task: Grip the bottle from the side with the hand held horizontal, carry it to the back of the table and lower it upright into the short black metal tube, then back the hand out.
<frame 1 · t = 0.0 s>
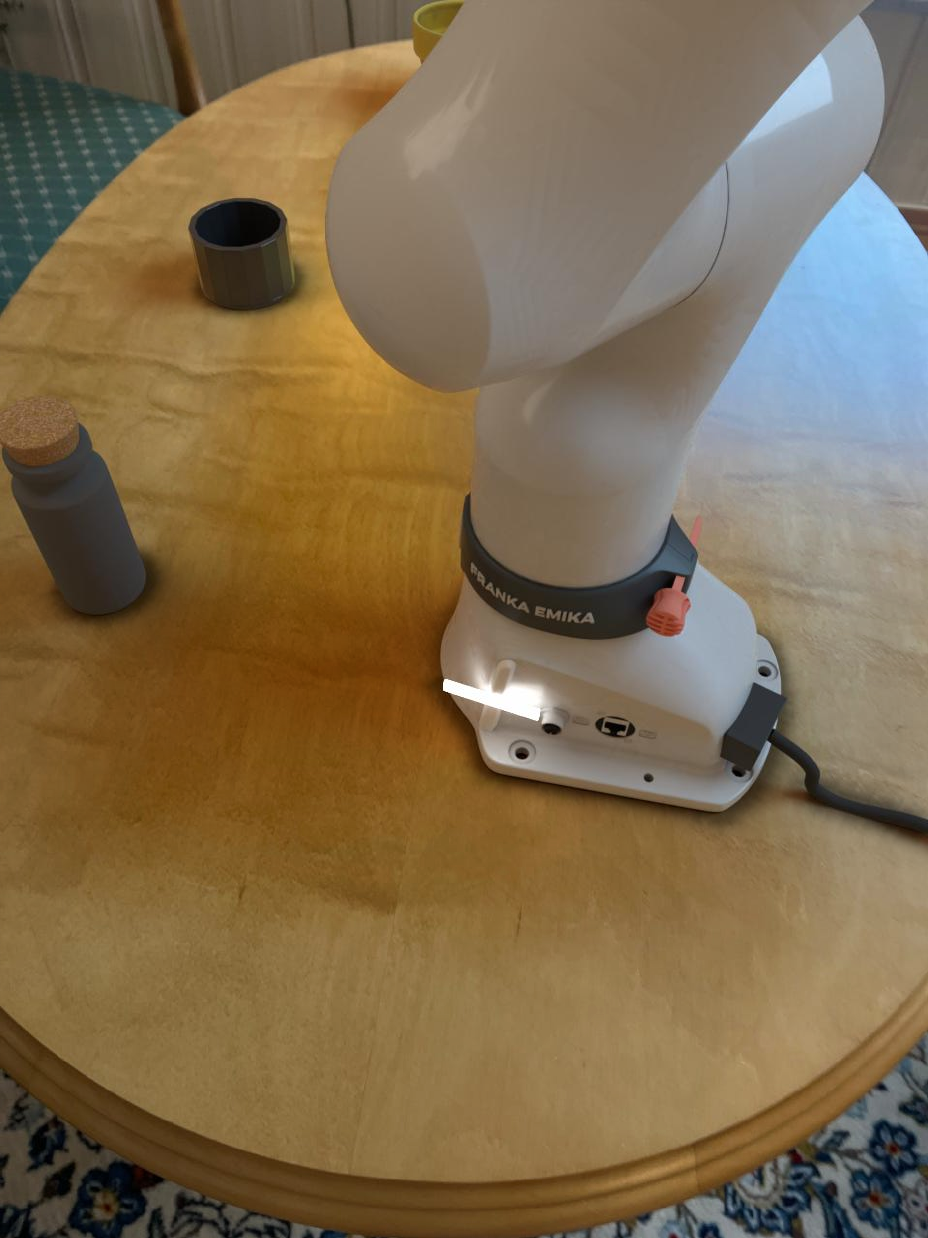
tube: (248, 282, 91), on the table
flower pot: (458, 110, 113), on the table
bottle: (105, 585, 69), on the table
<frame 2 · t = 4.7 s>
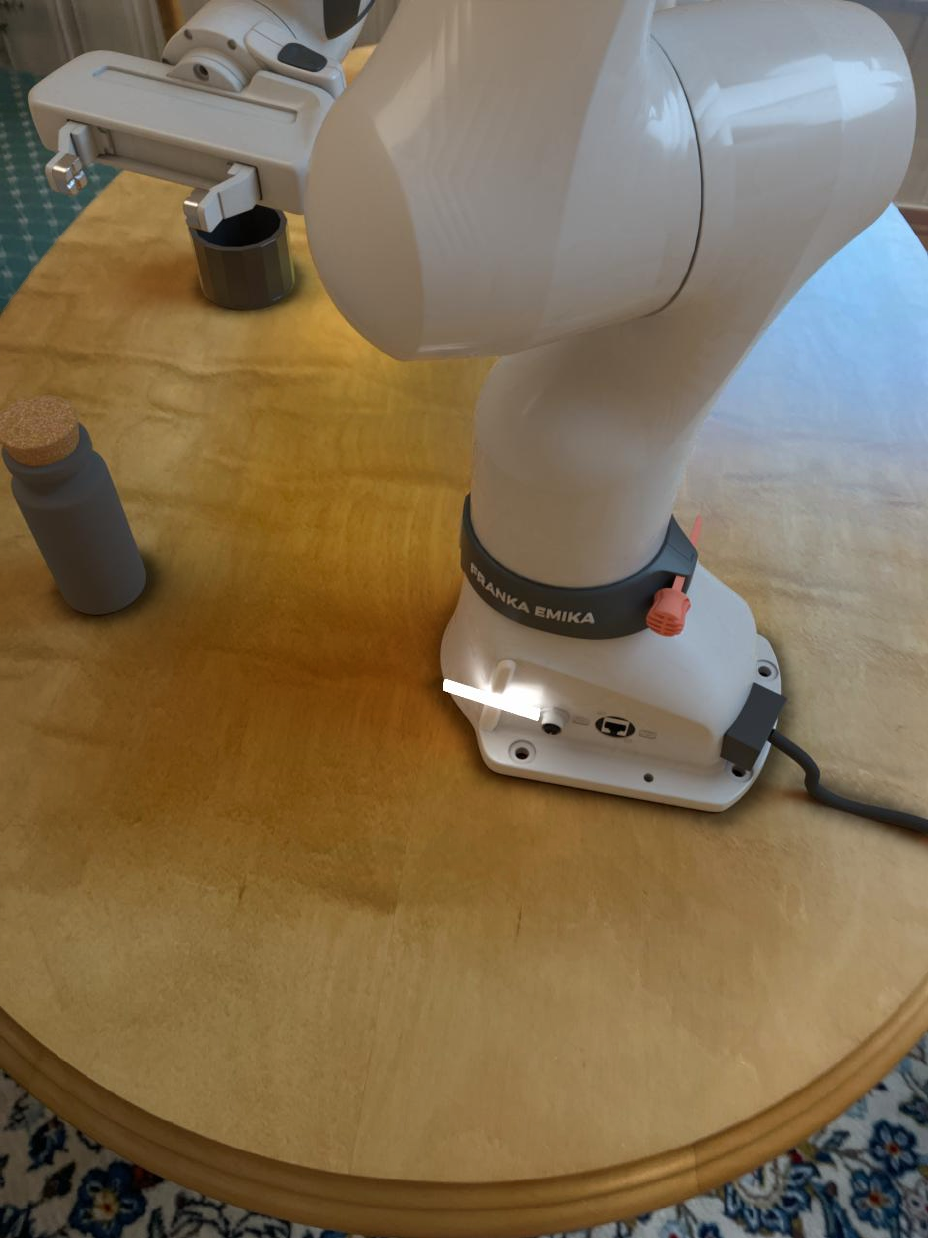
hand: (125, 201, 59), 22 cm above the table, tool horizontal, fingers open, 8 cm apart
nothing on the table moved.
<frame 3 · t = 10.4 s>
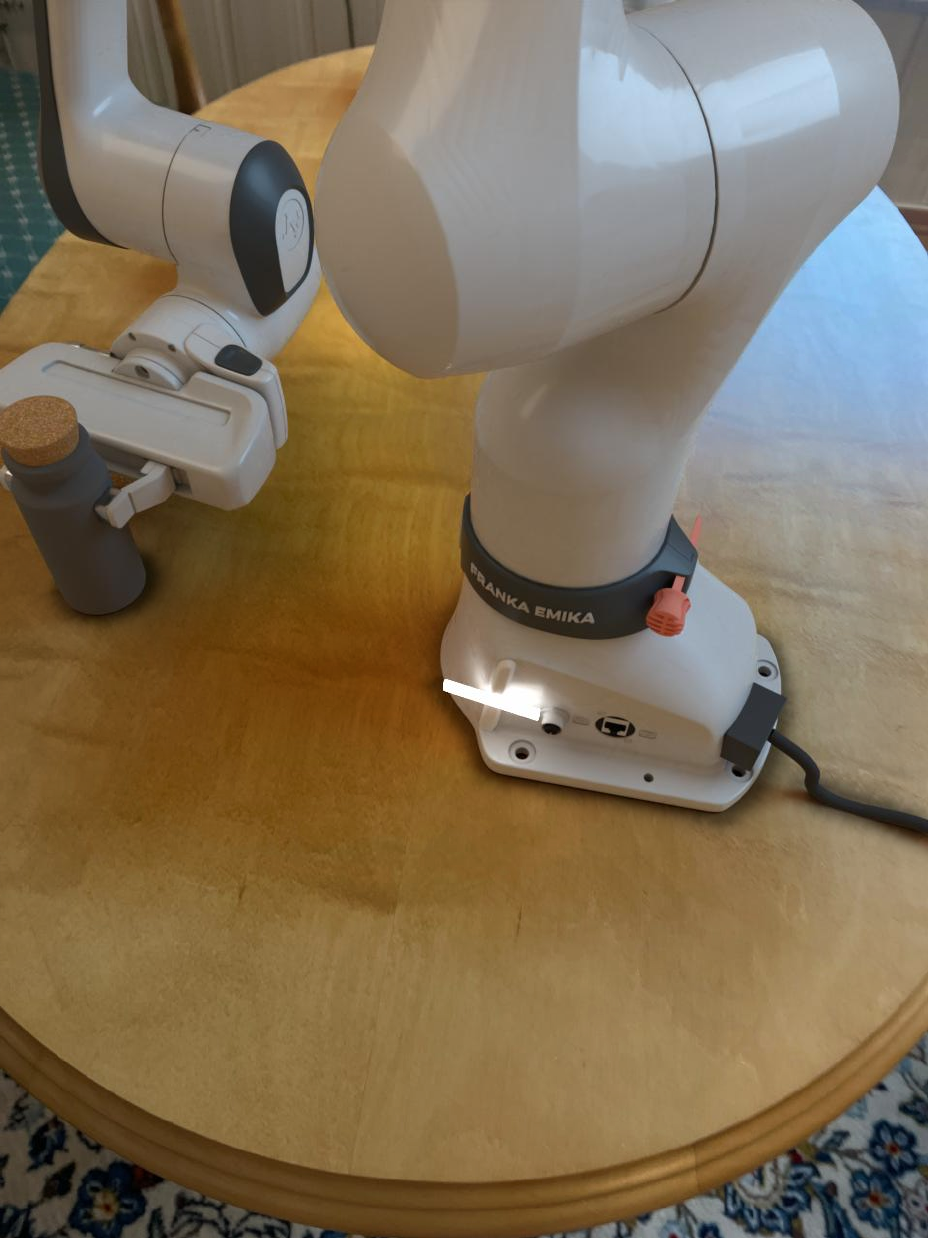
hand: (57, 502, 61), 9 cm above the table, tool horizontal, fingers closed on bottle, 6 cm apart
bottle: (105, 585, 69), on the table, touching gripper
everything else where it was.
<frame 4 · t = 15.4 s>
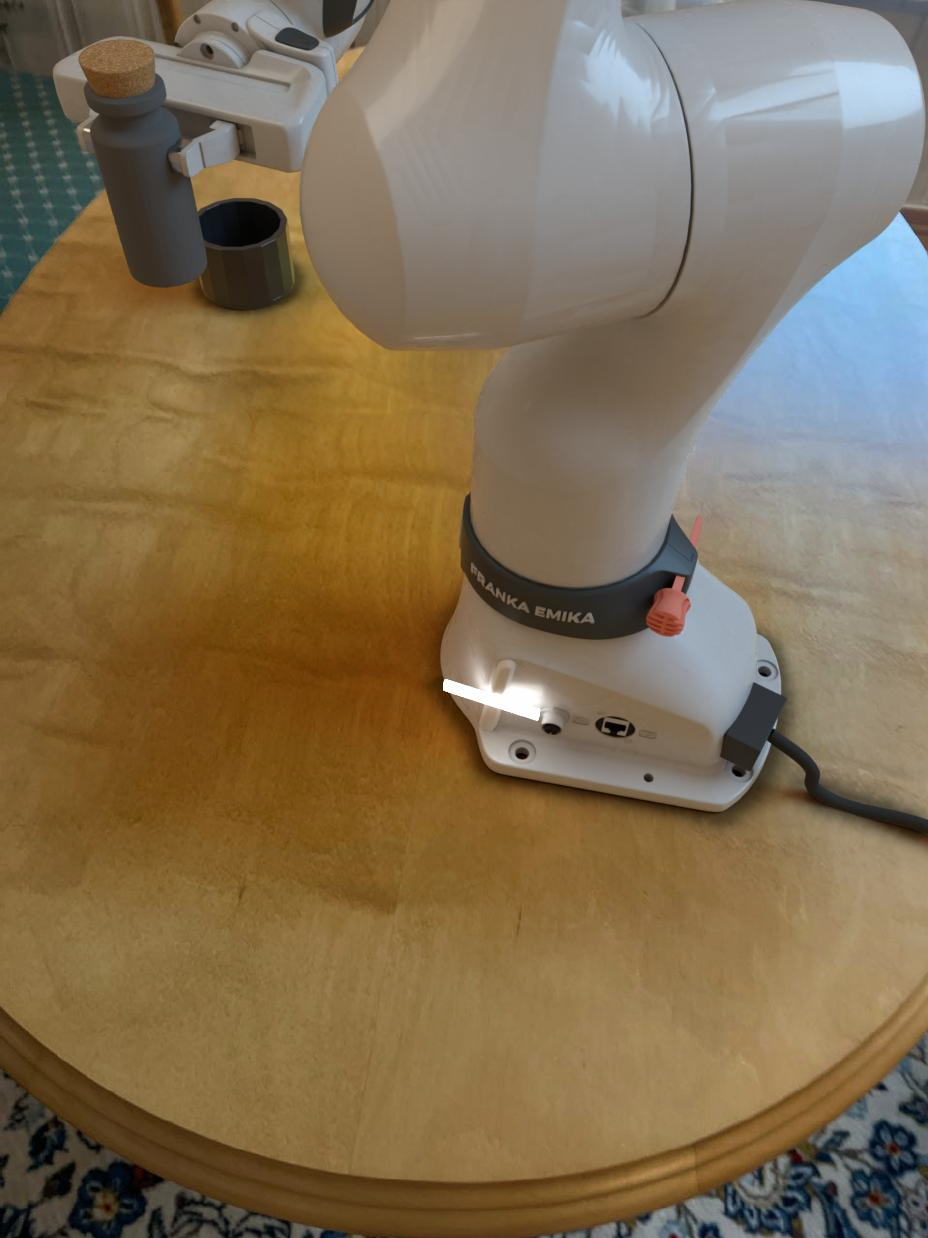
hand: (132, 154, 66), 20 cm above the table, tool horizontal, fingers closed on bottle, 6 cm apart
bottle: (169, 268, 74), point 11 cm above the table, touching gripper
everything else where it was.
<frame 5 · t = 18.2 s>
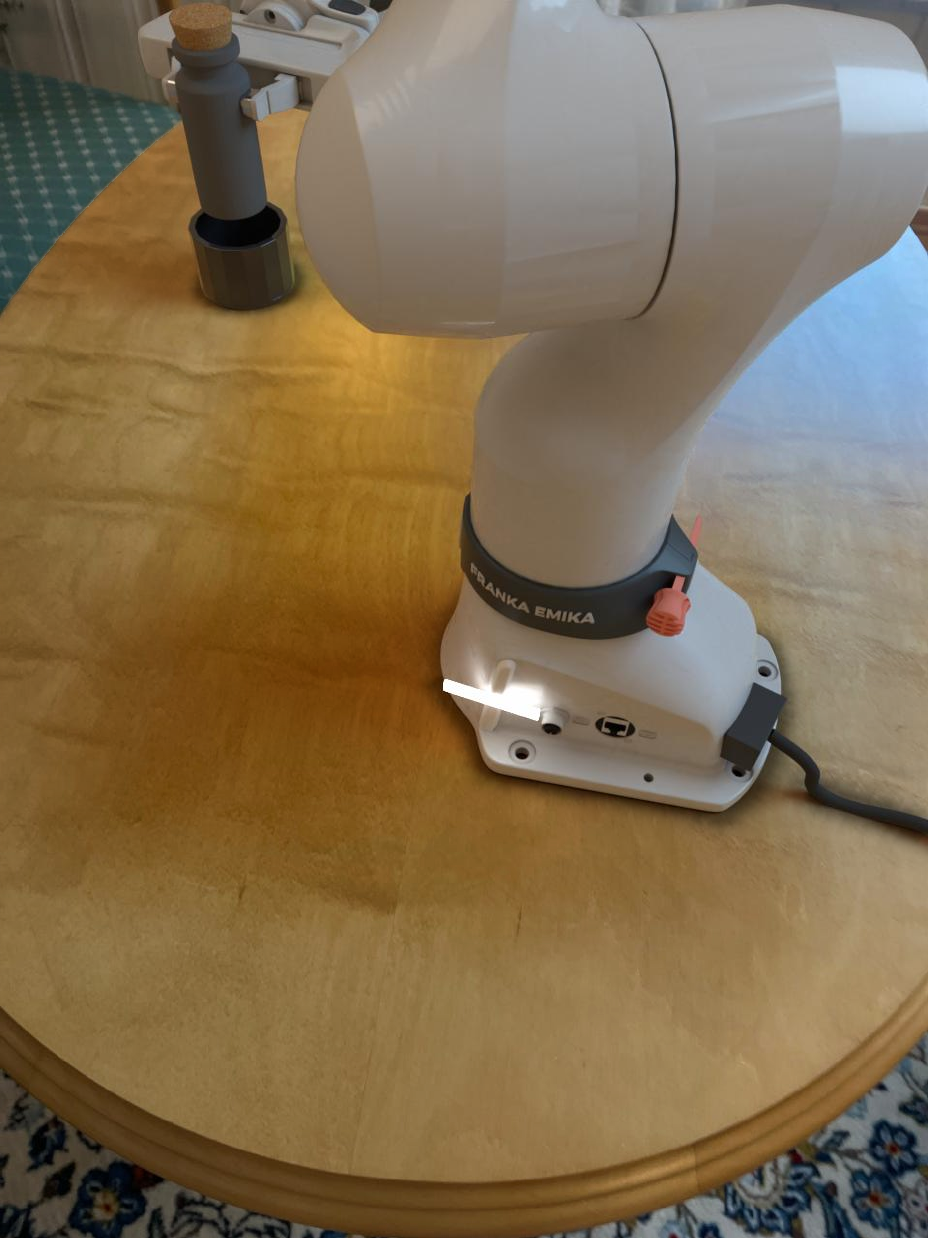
hand: (209, 101, 77), 17 cm above the table, tool horizontal, fingers closed on bottle, 6 cm apart
bottle: (234, 204, 85), point 8 cm above the table, touching gripper
everything else where it was.
when the fingers open (9 cm above the table, at t = 20.7 s): bottle stays where it is, resting on tube.
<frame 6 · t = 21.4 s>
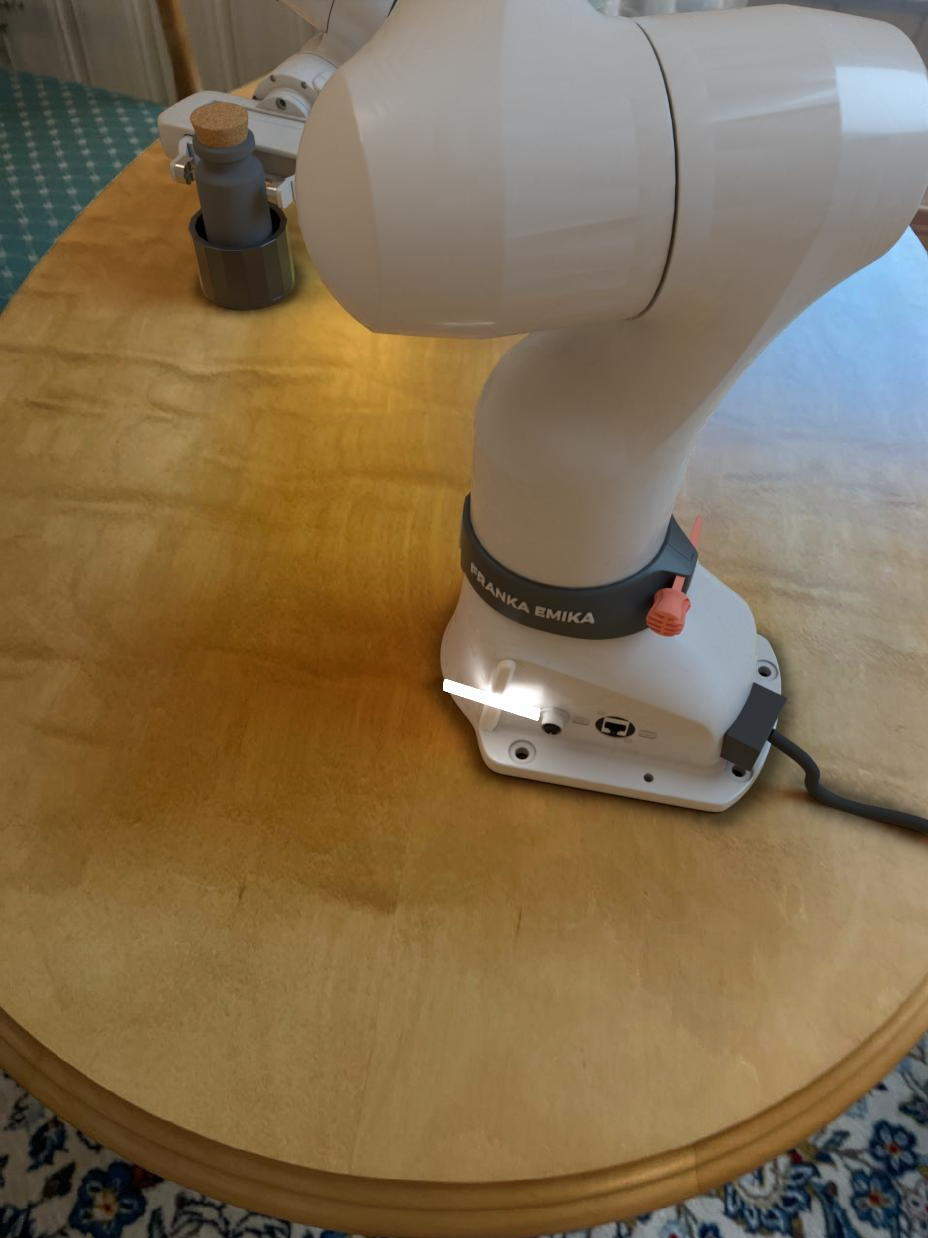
hand: (225, 187, 83), 10 cm above the table, tool horizontal, fingers open, 8 cm apart
bottle: (248, 279, 91), resting on tube
everything else where it was.
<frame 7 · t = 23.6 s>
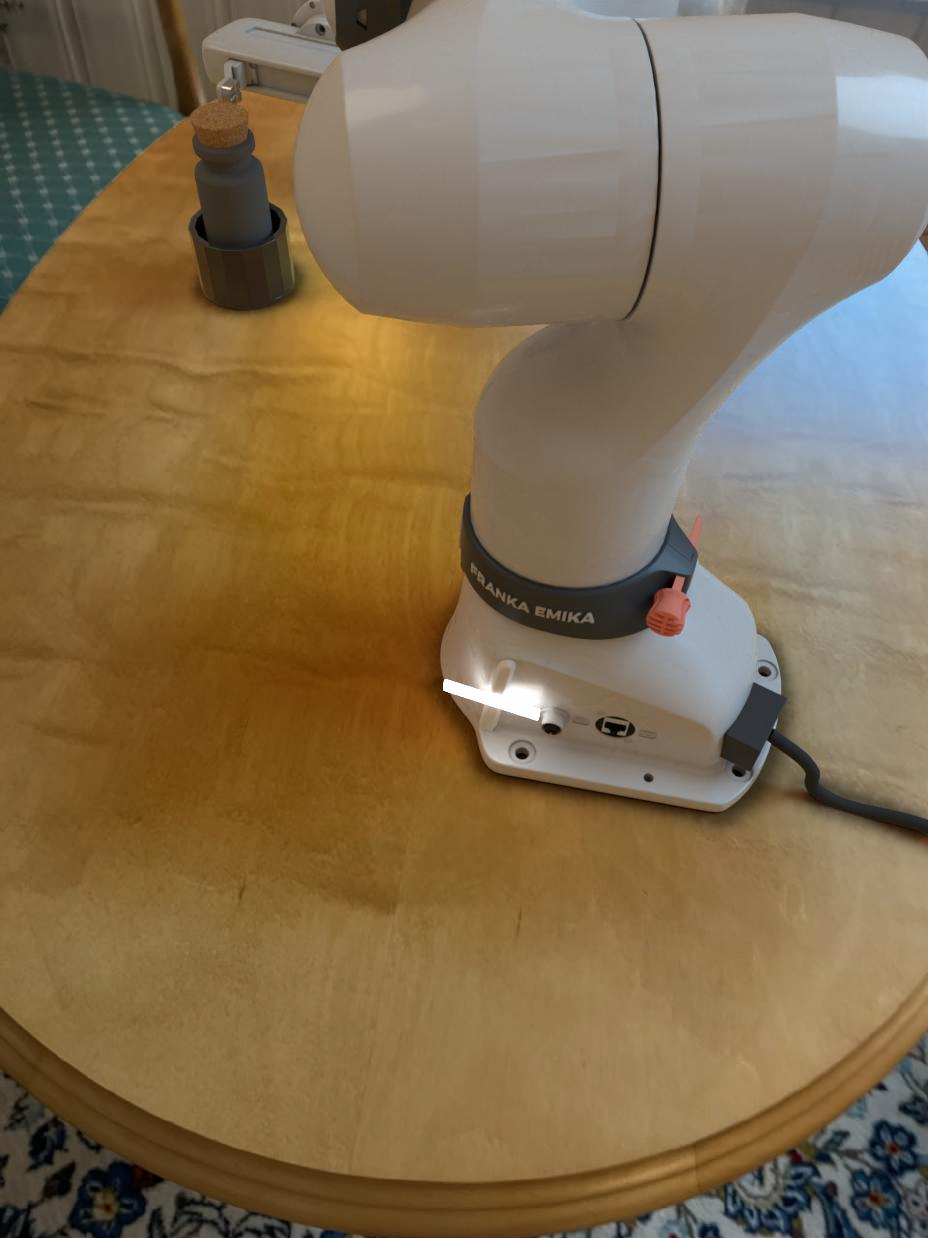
hand: (270, 108, 87), 12 cm above the table, tool horizontal, fingers open, 8 cm apart
flower pot: (457, 102, 114), on the table, touching arm
everything else where it was.
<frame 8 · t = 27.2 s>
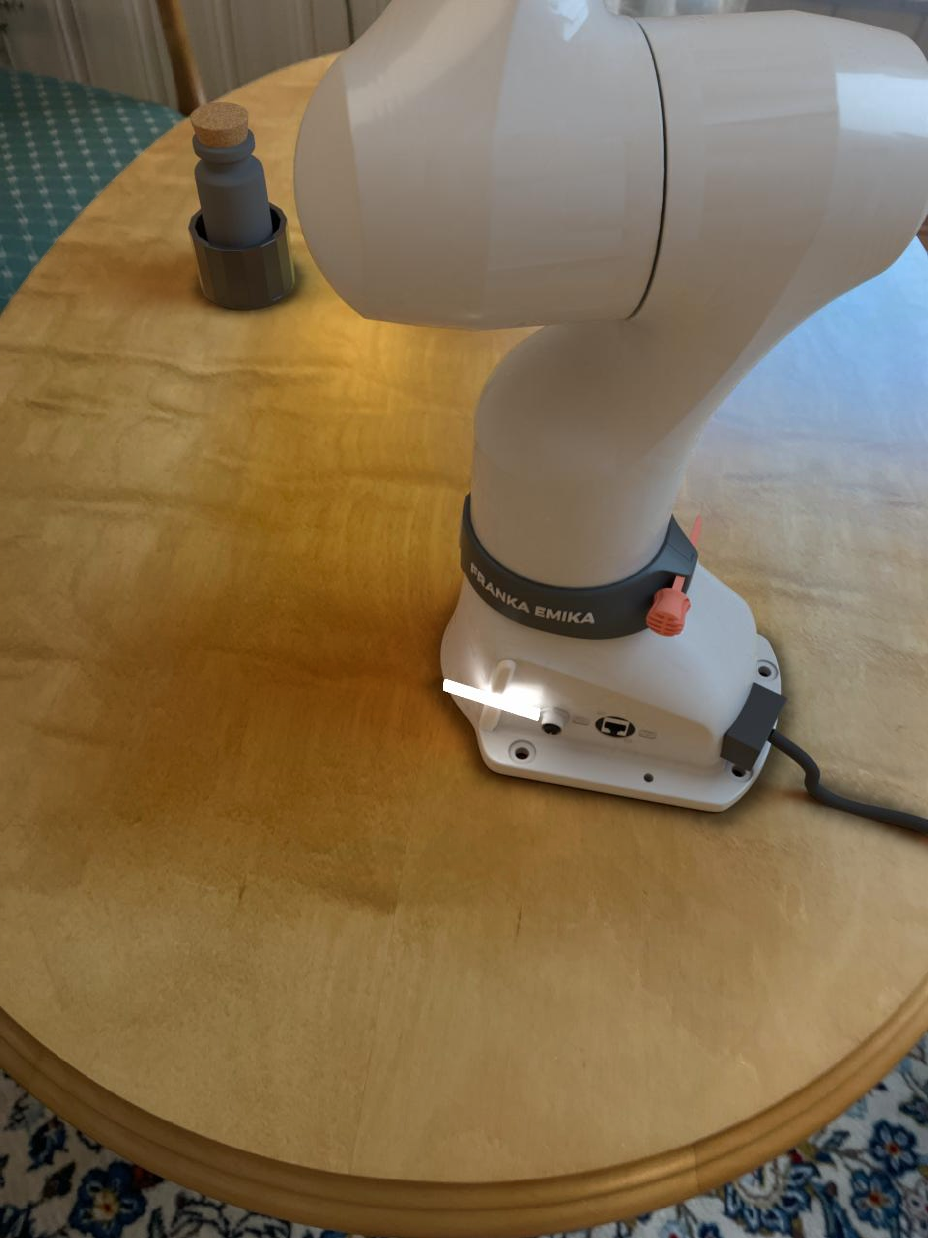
flower pot: (464, 107, 114), on the table
everything else where it was.
at the end: bottle 0.1 cm off-centre in the tube, point 0.2 cm above the tube's base; bottle tilted 0°; the gripper is holding nothing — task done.
